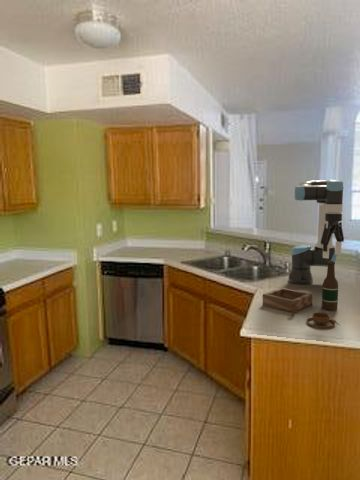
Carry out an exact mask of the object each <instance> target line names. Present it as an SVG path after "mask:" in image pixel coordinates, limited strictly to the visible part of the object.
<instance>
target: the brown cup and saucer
mask: <svg viewBox="0 0 360 480" xmlns="http://www.w3.org/2000/svg"><path fill="white" fill-rule="evenodd" d="M290 309H291V311H292V313H291V317H295V313H294V311H295V309H296V305H294V304H291V305H290ZM312 321H313V323H314V324H313V323H310V322H312ZM306 323H307V325H308V326H309V327H312V328H316V329H319V330H320V329H322V330H327V329H333V328H335V325H336V324H337V325H339V326H340V323H338V322H337V321H336V320H335V319H333V318H332V319H330V314H328V313H325V312H319V311H318V312H313V313H312V317H308V318H307V319H306ZM327 324H331V325H327ZM325 325H326V326H325Z"/></svg>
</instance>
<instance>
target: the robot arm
mask: <svg viewBox="0 0 360 480" xmlns="http://www.w3.org/2000/svg"><path fill="white" fill-rule="evenodd" d="M343 197H344V182H343V181H342V180H336V179H315V180H314V179H313V180H310V179H309V180H305V181H303V182H300V183H299V184H298V185H296V186H295V187H294V200H295V201H316V203H317V205H318V226H317V243H315V244H314V247H312V245H311V244H303V245H297V246H293V248H292V249H291V269H290V271H289V274H288V279H287V280H288V282H289V283H291V284H296V285H311V284H312V283H314V278H313V274H312V271H311V267H323V268H324V267H325V268H328V264H327V263H328V261H334V262H335V263H337V257H338V256H341V255H342V245H343V244H342V242H343V243H344V242H345V236H344V232H343V225H342V224H343V222H342V220H343V214H342V213H343V199H344V198H343ZM333 235H334V237H335V240H336V241H335V244H334V243H333Z"/></svg>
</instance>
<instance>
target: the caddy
mask: <svg viewBox="0 0 360 480" xmlns="http://www.w3.org/2000/svg"><path fill="white" fill-rule="evenodd" d="M291 304H294V305H296V309H295V311H294V314H296V313H298V312H300V311H302V310H304V309H306V308H309V307H311V306H313V293H309V292H304V291H300V290H295V289H291V288H286V287H279V288H277V289H274V290H270V291H267V292H265V293H262V306H263V307H267V308H271V309H275V310H280V311H282V312H287V313H291V314H292V311H291V309H290V305H291Z"/></svg>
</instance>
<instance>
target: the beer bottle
mask: <svg viewBox="0 0 360 480" xmlns="http://www.w3.org/2000/svg"><path fill="white" fill-rule="evenodd" d="M327 264H328V267H327V269H326V275H325V278H324V279H323V282H322V288H321V292H322V293H321V309H322V310H324V311H328V312H329V311H331V312H334V311H337V310H338V301H339V297H338V296H339V283H338V282H339V281H338V280H337V278H336V275H335V274H336V273H335V270H336V268H335V265H336V262H334V261H328V263H327Z"/></svg>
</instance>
